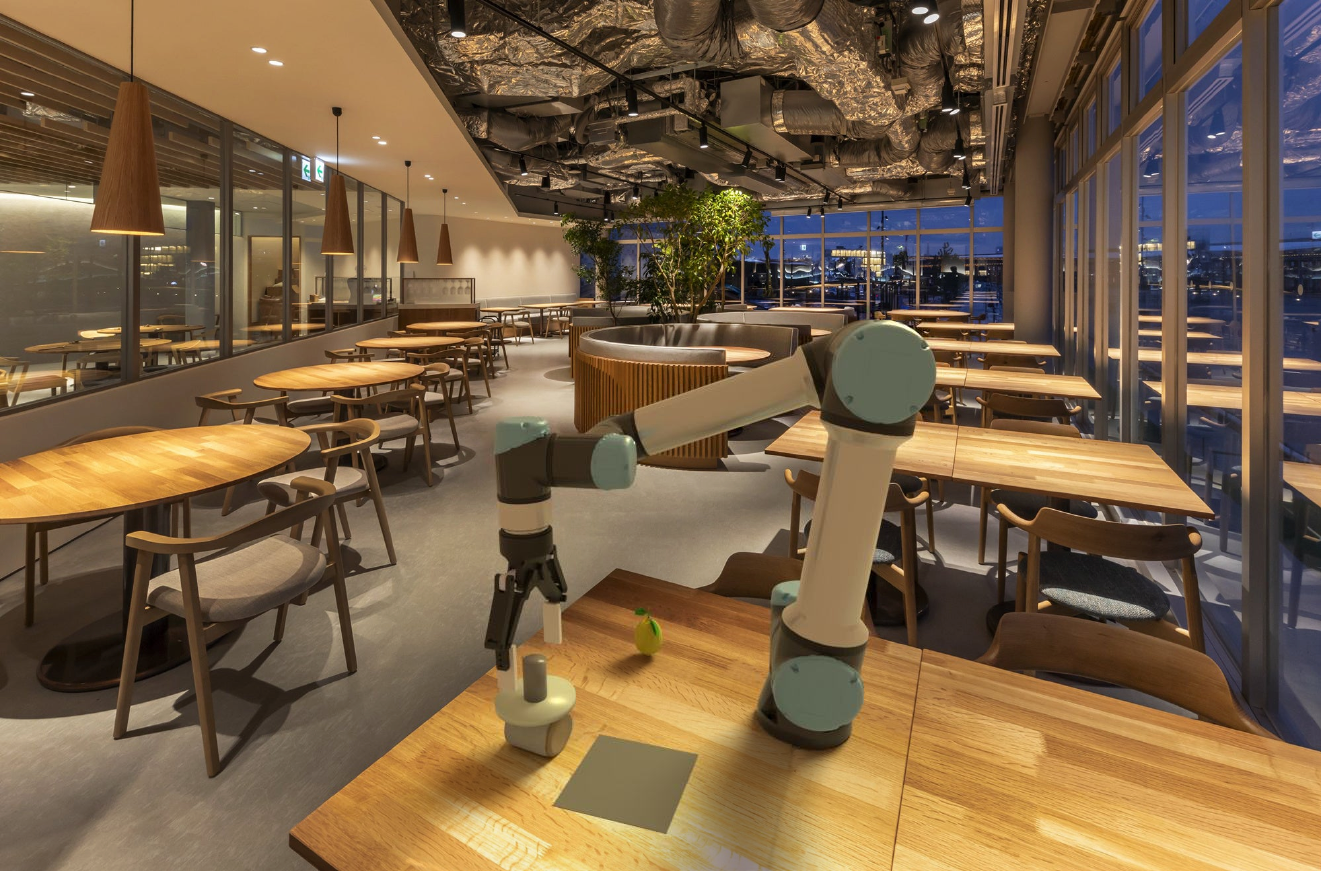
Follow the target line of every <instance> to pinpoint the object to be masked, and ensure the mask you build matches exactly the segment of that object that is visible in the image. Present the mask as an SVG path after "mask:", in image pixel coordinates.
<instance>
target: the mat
mask: <svg viewBox="0 0 1321 871" xmlns="http://www.w3.org/2000/svg"><path fill="white" fill-rule="evenodd" d="M699 755H700V754H699V753H693V752H689V751H684V750H678V749H674V748H668V747H666V746H665V747H663V746H659V745H656V744H655V745H653V744H649V743H645V742H640V741H635V740H629V739H626V738H620V737H617V736H616V737H615V736H611V735H606V734H602V733H601V734H598V736H597V737H596V738H595V740H594V741H593V743H592V744H591V746H590V748H589V749H588V751H587V752H586V754H585V756H584V757H583V759H582V760H581V762H580V763H579V765H578V766H577V768H576V769H575V770H574V772H573V773H572V775H571V777H570V778H569V779H568V780H567V782H566V784H565V786H564V787H563V789H562V790H561V792H560V793H559V794H558V796H557V798H556V799H555V801H554V802H553V804H552V807H557V808H561V809H563V810H569V811H572V812H577V813H581V814H584V815H589V816H593V817H597V818H601V819H604V820H605V819H606V820H609V821H613V822H617V823H620V824H621V823H622V824H626V825H630V826H633V827H637V828H642V829H645V830H650V831H653V832H658V833H662V834H667V833H668V830H670V826H671V823H672V821H673V819H674V816H675V813H676V811H677V808H678V806H679V803H680V801H681V799H682V797H683V794H684V791H685V789H686V787H687V784H688V782H689V780H690V777H691V774H692V772H693V769H694V767H695V764H696V762H697V759H698V757H699Z"/></svg>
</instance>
